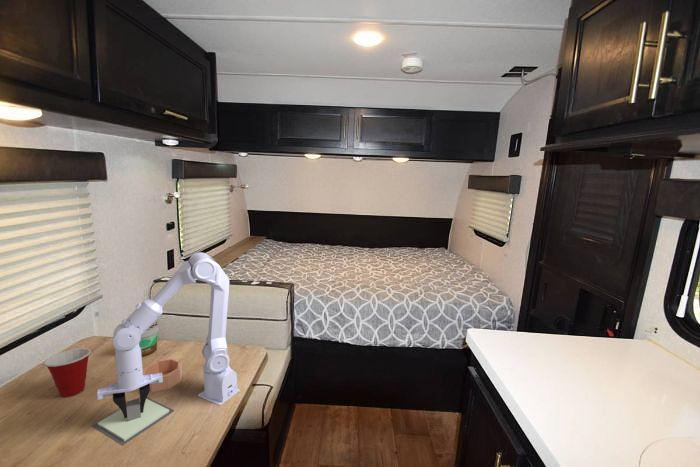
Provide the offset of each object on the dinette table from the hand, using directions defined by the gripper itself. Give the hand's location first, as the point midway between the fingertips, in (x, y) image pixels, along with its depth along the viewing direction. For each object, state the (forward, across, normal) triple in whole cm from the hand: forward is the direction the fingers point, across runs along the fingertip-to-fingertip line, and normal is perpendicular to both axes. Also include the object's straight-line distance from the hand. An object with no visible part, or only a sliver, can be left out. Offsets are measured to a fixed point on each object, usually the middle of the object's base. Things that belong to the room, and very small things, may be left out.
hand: (134, 413), depth 90 cm
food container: (+2, -4, -38) cm, 38 cm away
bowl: (+2, -8, -15) cm, 17 cm away
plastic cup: (+2, +16, -24) cm, 29 cm away
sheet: (+2, 0, 0) cm, 2 cm away
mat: (+2, 0, 0) cm, 2 cm away
